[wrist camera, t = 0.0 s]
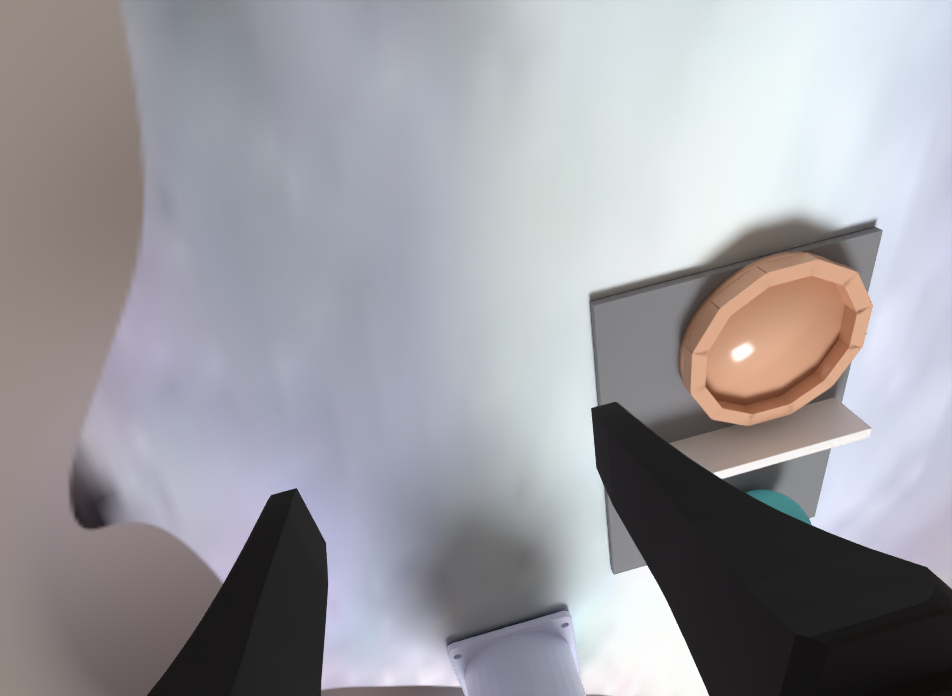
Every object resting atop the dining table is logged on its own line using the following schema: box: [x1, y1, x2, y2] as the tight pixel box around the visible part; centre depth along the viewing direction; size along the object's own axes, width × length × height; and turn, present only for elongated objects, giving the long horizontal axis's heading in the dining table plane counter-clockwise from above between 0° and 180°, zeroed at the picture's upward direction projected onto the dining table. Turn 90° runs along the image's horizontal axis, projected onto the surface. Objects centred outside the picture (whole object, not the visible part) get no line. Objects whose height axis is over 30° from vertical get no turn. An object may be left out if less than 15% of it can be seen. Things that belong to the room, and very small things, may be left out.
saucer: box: [678, 251, 873, 426], centre depth 25 cm, size 8×8×1 cm
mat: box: [590, 227, 883, 574], centre depth 29 cm, size 19×13×1 cm
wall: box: [669, 397, 872, 479], centre depth 28 cm, size 1×12×2 cm, turn 100°
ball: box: [745, 489, 811, 525], centre depth 31 cm, size 4×4×4 cm
